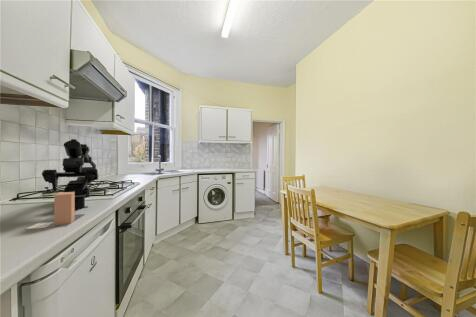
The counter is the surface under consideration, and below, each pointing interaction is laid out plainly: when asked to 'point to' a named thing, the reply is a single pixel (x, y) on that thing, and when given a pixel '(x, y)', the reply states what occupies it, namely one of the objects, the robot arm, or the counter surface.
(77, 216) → the baseplate
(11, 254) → the counter surface
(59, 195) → the column
